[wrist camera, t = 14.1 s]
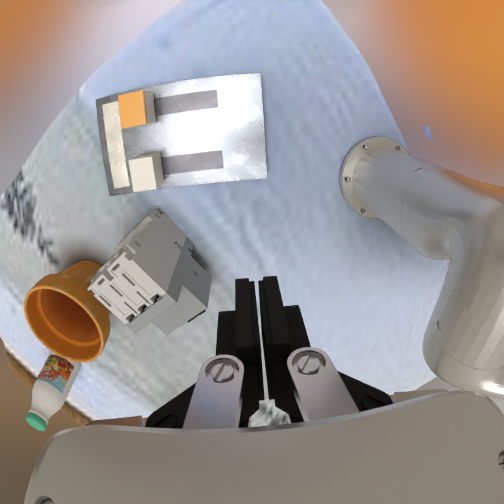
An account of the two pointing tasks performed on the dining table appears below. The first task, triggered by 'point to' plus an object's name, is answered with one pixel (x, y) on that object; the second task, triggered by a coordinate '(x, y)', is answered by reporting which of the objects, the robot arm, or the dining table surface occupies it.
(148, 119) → the lever
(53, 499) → the robot arm
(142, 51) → the dining table surface
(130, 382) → the dining table surface
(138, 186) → the on lever
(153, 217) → the circuit breaker
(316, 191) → the dining table surface
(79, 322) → the flower pot
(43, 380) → the milk bottle
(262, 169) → the slotted slider board
